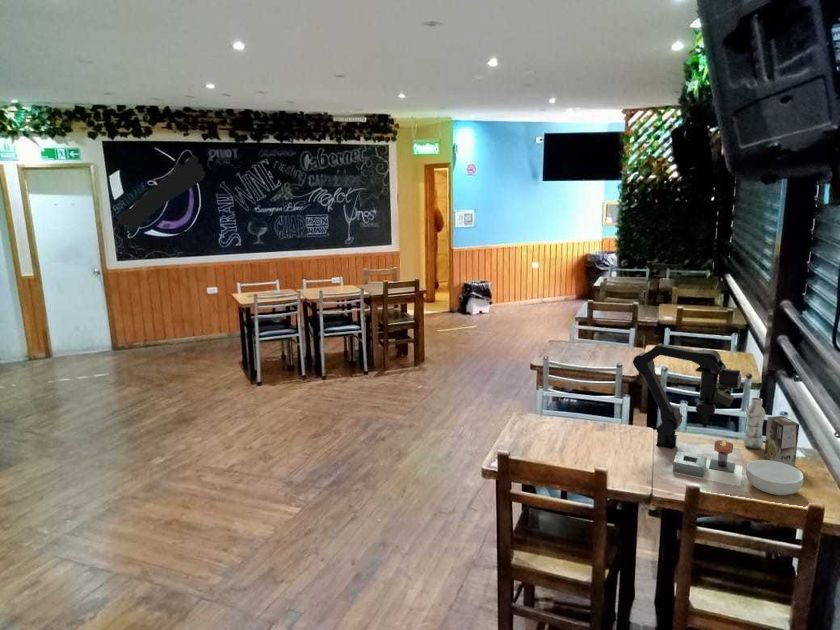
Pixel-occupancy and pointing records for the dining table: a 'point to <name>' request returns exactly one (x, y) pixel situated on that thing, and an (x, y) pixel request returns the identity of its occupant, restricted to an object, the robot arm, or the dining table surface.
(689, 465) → the metal block
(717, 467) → the pad
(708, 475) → the board
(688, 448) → the dining table surface
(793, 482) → the cereal bowl
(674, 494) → the dining table surface
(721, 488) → the dining table surface
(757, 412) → the plastic bottle
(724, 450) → the copper disc with stripe
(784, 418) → the coffee box
